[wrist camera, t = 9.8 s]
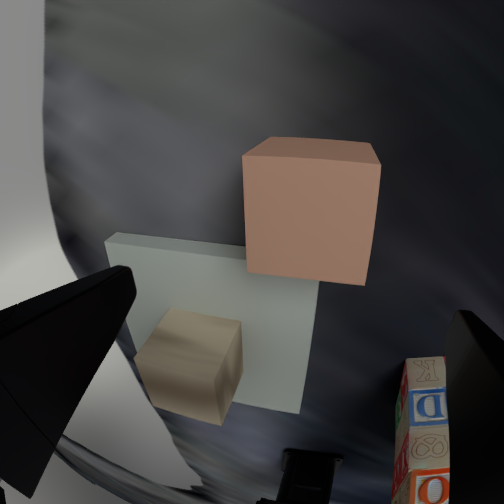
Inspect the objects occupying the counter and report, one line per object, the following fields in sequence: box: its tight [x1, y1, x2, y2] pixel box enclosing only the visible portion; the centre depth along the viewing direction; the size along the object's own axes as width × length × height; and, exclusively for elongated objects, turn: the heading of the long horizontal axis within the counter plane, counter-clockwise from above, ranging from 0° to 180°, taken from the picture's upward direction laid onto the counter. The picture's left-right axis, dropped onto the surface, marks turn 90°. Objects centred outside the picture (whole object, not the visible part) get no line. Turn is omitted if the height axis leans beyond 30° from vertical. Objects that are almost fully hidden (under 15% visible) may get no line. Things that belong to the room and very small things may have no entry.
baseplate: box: [104, 232, 319, 414], centre depth 22 cm, size 14×14×2 cm
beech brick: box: [134, 308, 244, 426], centre depth 20 cm, size 5×5×5 cm
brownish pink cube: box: [242, 137, 381, 286], centre depth 14 cm, size 5×5×5 cm
